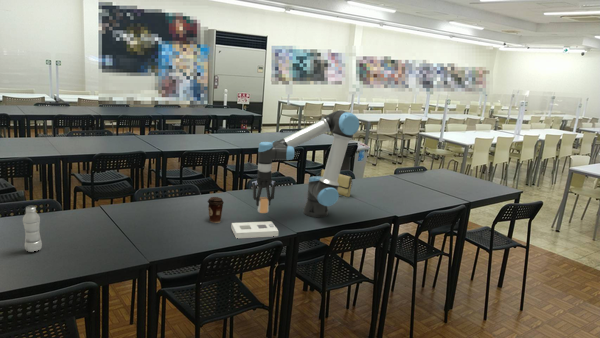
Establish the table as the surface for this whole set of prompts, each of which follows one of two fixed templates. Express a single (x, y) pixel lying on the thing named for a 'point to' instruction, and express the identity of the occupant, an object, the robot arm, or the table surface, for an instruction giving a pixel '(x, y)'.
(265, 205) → the tan rectangular block
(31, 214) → the plastic bottle
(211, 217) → the coffee cup
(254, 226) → the socket box
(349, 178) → the clutch purse
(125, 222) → the table surface
